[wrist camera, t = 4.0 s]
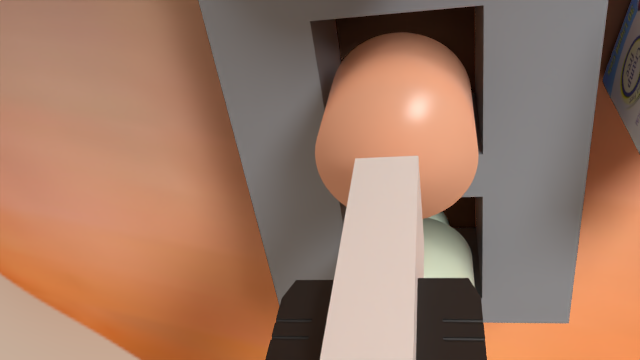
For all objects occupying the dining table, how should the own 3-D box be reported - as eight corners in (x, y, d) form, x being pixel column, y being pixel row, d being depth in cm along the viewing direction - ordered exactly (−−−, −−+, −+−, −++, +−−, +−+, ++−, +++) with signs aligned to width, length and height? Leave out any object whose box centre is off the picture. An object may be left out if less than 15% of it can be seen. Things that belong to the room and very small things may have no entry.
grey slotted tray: (179, -292, 18) (118, -300, 15) (607, -382, 16) (659, -416, 12) (300, 251, 31) (283, 320, 27) (550, 248, 28) (568, 323, 25)
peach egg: (330, 14, 20) (302, 92, 16) (467, 2, 19) (478, 80, 15) (346, 128, 23) (327, 223, 18) (468, 122, 22) (478, 220, 17)
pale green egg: (355, 185, 24) (338, 285, 20) (469, 181, 23) (478, 285, 19) (366, 266, 27) (354, 371, 22) (470, 266, 26) (478, 375, 21)
